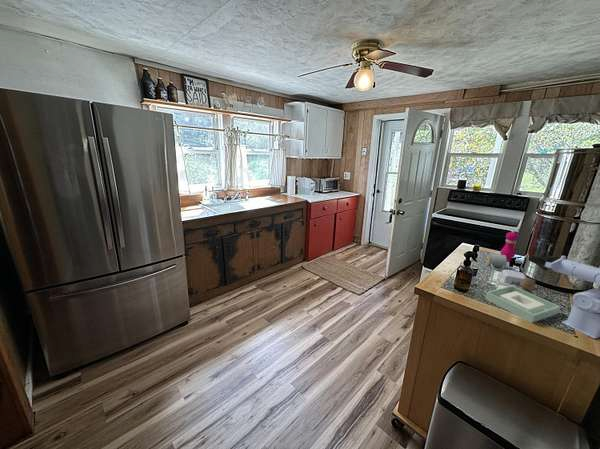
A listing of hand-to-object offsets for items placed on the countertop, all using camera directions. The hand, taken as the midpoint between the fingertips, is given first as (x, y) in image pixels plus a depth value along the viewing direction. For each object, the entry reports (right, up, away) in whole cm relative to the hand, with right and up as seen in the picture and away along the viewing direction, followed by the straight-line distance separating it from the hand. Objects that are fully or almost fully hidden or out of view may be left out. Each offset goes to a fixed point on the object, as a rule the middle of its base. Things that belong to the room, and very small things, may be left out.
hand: (534, 257), depth 109 cm
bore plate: (-6, -21, 0) cm, 22 cm away
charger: (+11, -15, +25) cm, 31 cm away
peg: (+5, -19, +10) cm, 22 cm away
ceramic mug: (+14, -11, +39) cm, 43 cm away
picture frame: (-6, -22, 0) cm, 22 cm away
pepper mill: (+28, -8, +49) cm, 57 cm away
